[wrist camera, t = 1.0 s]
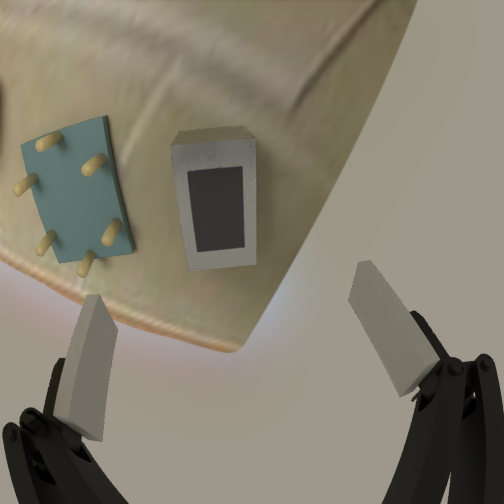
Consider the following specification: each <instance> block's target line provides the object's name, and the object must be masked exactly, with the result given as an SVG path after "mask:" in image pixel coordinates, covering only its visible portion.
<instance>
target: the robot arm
mask: <svg viewBox="0 0 504 504" xmlns="http://www.w3.org/2000/svg"><path fill="white" fill-rule="evenodd" d="M348 301H349V303H350V304H351V306H352V308H353V309H354V311H355V313H356V315H357V317H358V318H359V320H360V322H361V324H362V326H363V327H364V329H365V331H366V333H367V335H368V336H369V338H370V340H371V342H372V344H373V345H374V348H375V349H376V351H377V353H378V355H379V357H380V359H381V361H382V363H383V365H384V367H385V369H386V370H387V372H388V374H389V376H390V378H391V380H392V382H393V384H394V386H395V388H396V390H397V392H398V394H399V397H402V396H404V395H406V394H409V393H410V392H413V391H414V390H415V388H416V387H417V386H419V388H420V390H419V392H418V393H417V394H416V395H415V396H414V397H413V398H412V400H411V401H414V400H415V399H416V398H417V401H416V406H415V410H414V414H413V418H412V422H411V425H410V429H409V432H408V436H407V439H406V442H405V445H404V449H403V452H402V455H401V458H400V460H399V463H398V466H397V469H396V471H395V474H394V476H393V479H392V481H391V484H390V486H389V488H388V491H387V493H386V495H385V498H384V500H383V502H382V504H440V503H441V500H442V498H443V495H444V492H445V489H446V486H447V482H448V479H449V476H450V472H451V477H450V487H449V496H448V504H504V412H503V404H502V397H501V391H500V386H499V380H498V376H497V371H496V366H495V363H494V361H493V359H492V358H491V357H490V356H489V355H487V354H480V355H479V356H478V357H477V358H476V360H475V361H469V362H462V361H461V360H460V359H457V358H455V357H450V356H449V355H448V353H447V352H446V350H445V349H444V347H443V346H442V344H441V343H440V341H439V340H438V338H437V337H436V335H435V334H434V333H433V331H432V329H431V328H430V327H429V326H428V323H427V322H426V321H425V319H424V318H423V317H422V316H421V315H420V314H419V313H417V312H416V311H415V310H414V311H411V312H409V311H408V310H407V308H406V307H405V306H404V304H403V303H402V301H401V300H400V299H399V297H398V296H397V294H396V293H395V292H394V290H393V289H392V288H391V286H390V285H389V284H388V282H387V281H386V280H385V279H384V277H383V276H382V274H381V273H380V272H379V271H378V269H377V268H376V267H375V265H374V264H373V263H372V262H371V261H363V262H358V266H357V270H356V274H355V277H354V281H353V285H352V289H351V292H350V296H349V299H348ZM117 333H118V329H117V327H116V325H115V323H114V321H113V319H112V318H111V316H110V314H109V312H108V310H107V308H106V306H105V304H104V302H103V300H102V298H101V296H100V294H90V295H87V296H86V299H85V301H84V304H83V307H82V309H81V312H80V315H79V318H78V321H77V324H76V327H75V330H74V333H73V336H72V339H71V342H70V346H69V349H68V352H67V356H66V358H59V360H58V361H57V363H56V364H55V366H54V368H53V371H52V375H51V377H52V378H51V379H50V383H49V385H50V386H49V387H48V392H47V396H46V400H45V405H44V410H43V414H42V413H41V412H39V411H38V410H37V409H35V408H31V407H30V408H27V409H25V410H24V411H23V412H22V414H21V416H20V422H19V424H20V427H19V426H18V425H16V424H15V423H13V422H9V423H7V424H6V425H5V427H4V428H3V432H2V433H3V434H2V437H3V443H4V449H5V454H6V459H7V464H8V468H9V472H10V475H11V480H12V483H13V487H14V490H15V493H16V496H17V499H18V502H19V504H128V502H127V501H126V500H125V499H124V497H123V496H122V495H121V494H120V493H119V492H118V490H117V489H116V488H115V487H114V485H113V484H112V483H111V482H110V480H109V479H108V478H107V476H106V475H105V474H104V472H103V471H102V469H101V468H100V467H99V465H98V464H97V462H96V461H95V460H94V458H93V457H92V455H91V454H90V452H89V450H88V449H87V447H86V446H85V444H84V443H83V442H82V441H81V439H82V436H83V437H85V438H86V439H88V440H93V441H100V442H103V429H104V418H105V408H106V399H107V391H108V384H109V377H110V371H111V365H112V359H113V353H114V348H115V343H116V338H117ZM474 392H475V397H474V395H473V393H474Z"/></svg>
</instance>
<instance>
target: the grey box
mask: <svg viewBox="0 0 504 504" xmlns="http://www.w3.org/2000/svg"><path fill="white" fill-rule="evenodd" d="M170 148H171V157H172V166H173V174H174V182H175V189H176V197H177V204H178V210H179V217H180V223H181V230H182V236H183V242H184V247H185V253H186V259H187V264H188V269H189V272H190V271H200V270H210V269H220V268H229V267H239V266H248V265H256V139H255V138H254V137H253V136H252V135H251V134H250V132H249V131H248V130H246V129H245V128H244V127H243V126H234V127H218V128H206V129H195V130H186V131H179V132H178V134H177V136H176V137H175V139H174V141H173V142H172V144H171V146H170Z"/></svg>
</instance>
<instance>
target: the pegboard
mask: <svg viewBox="0 0 504 504" xmlns="http://www.w3.org/2000/svg"><path fill="white" fill-rule="evenodd" d="M21 149H22V154H23V159H24V163H25V167H26V171H27V175H28V176H27V177H26V178H24V179H23V180H22V181H20V182H19V183H18V184H16V185H15V186H14V188H13V192H14V194H15V195H16V196H17V197H19V196H20V195H22V194H23V193H24V192H25V191H26V190H28V189H29V188H30V187H31V189H32V193H33V196H34V199H35V202H36V205H37V208H38V211H39V214H40V217H41V220H42V223H43V225H44V228H45V231H46V233H47V234H46V235H45V237H44V238H43V239H42V241H41V242H40V243H39V244H38V246H37V247H36V249H35V251H36V253H37V255H39V256H43V255H44V254H45V252H46V251H47V249H48V248H49V247H50V245H51V246H52V248H53V251H54V253H55V255H56V257H57V260H58V262H59V263H65V262H72V261H80V260H82V262H81V264H80V266H79V268H78V270H77V274H78V276H79V277H81V278H85V277H86V276H87V274H88V271H89V269H90V267H91V265H92V263H93V261H94V259H95V258H103V257H110V256H118V255H126V254H133V252H134V249H135V246H134V243H133V240H132V236H131V233H130V229H129V225H128V221H127V218H126V214H125V210H124V206H123V202H122V197H121V193H120V189H119V184H118V180H117V175H116V170H115V165H114V160H113V154H112V149H111V143H110V137H109V130H108V123H107V116H102V117H98V118H95V119H91V120H88V121H84V122H81V123H78V124H75V125H72V126H68V127H66V128H63V129H60V130H57V131H54V132H51V133H49V134H46V135H43V136H41V137H38V138H36V139H33V140H31V141H29V142H26V143H24V144H22V145H21Z"/></svg>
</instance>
